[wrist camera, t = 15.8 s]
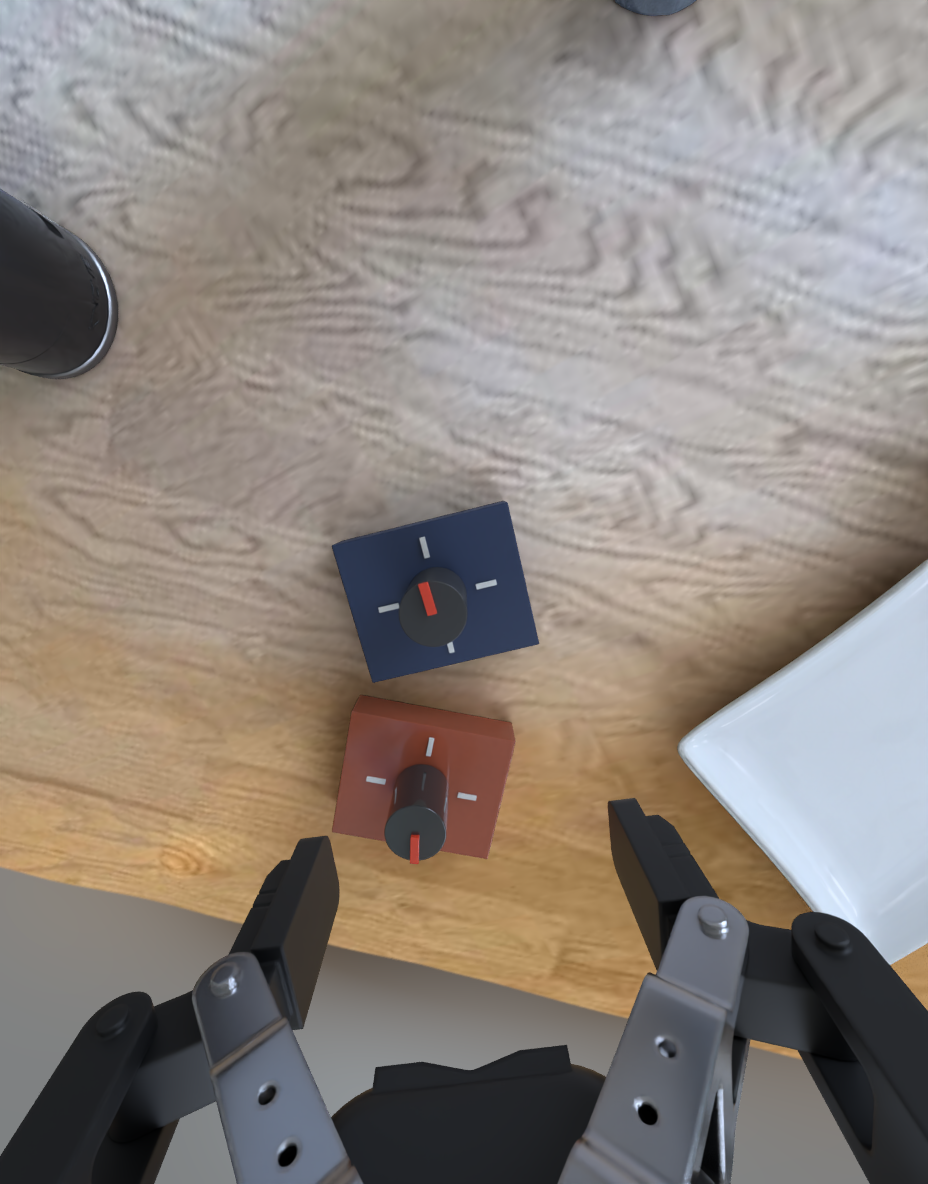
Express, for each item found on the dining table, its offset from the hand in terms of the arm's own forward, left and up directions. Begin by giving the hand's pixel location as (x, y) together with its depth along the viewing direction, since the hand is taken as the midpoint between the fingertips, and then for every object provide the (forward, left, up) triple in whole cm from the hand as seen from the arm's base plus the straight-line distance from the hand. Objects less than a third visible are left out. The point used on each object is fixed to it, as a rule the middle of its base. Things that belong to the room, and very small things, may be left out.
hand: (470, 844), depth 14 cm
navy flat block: (-2, +3, -24) cm, 24 cm away
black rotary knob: (-2, +3, -21) cm, 21 cm away
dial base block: (-3, -12, -24) cm, 27 cm away
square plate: (+34, -9, -24) cm, 43 cm away
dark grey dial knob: (-3, -12, -21) cm, 24 cm away
